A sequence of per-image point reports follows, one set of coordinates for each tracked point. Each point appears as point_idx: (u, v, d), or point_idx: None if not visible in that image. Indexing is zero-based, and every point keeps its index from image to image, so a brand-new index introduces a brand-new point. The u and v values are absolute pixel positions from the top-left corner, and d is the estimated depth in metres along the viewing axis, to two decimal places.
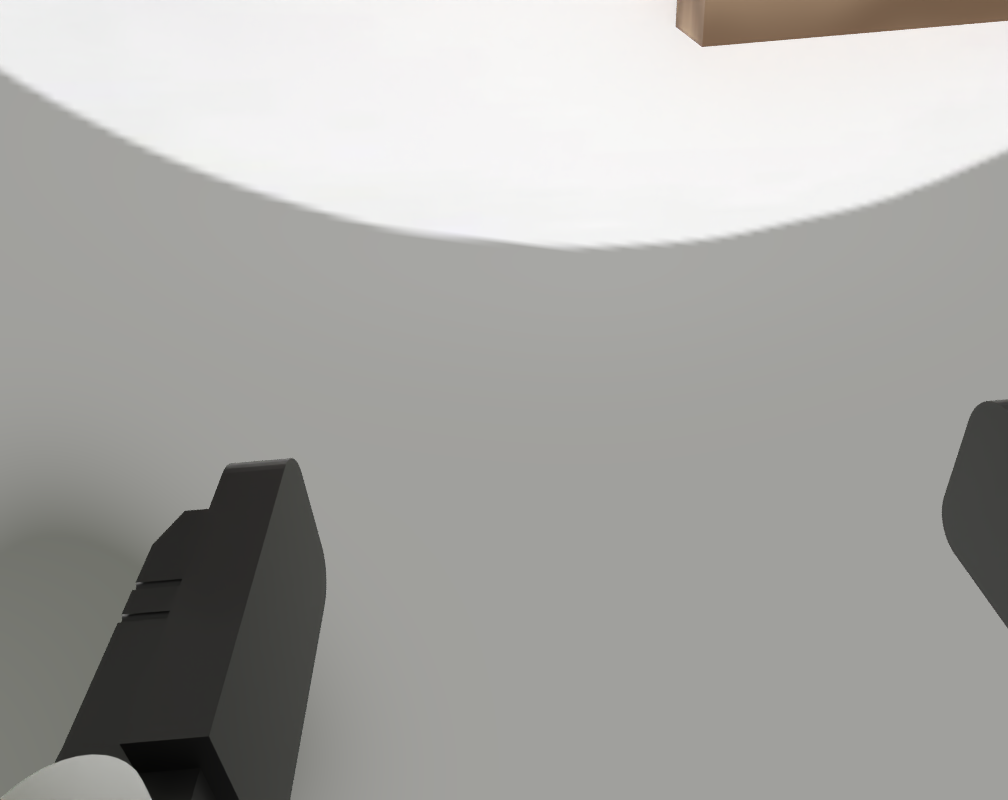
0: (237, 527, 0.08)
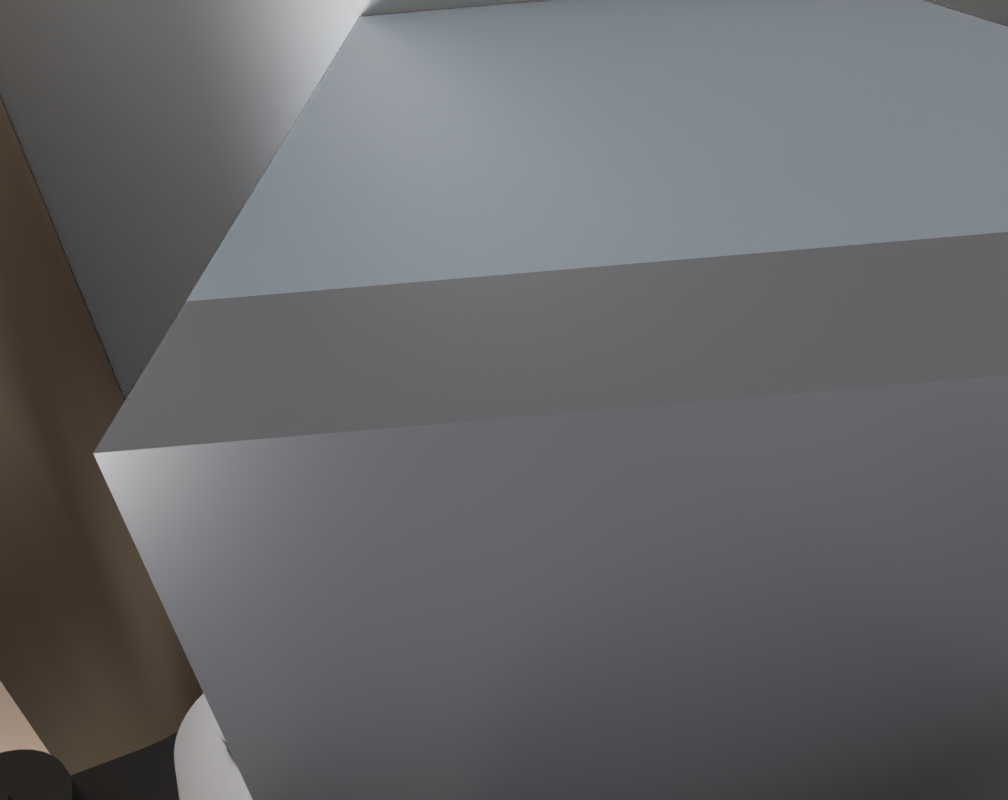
0: None
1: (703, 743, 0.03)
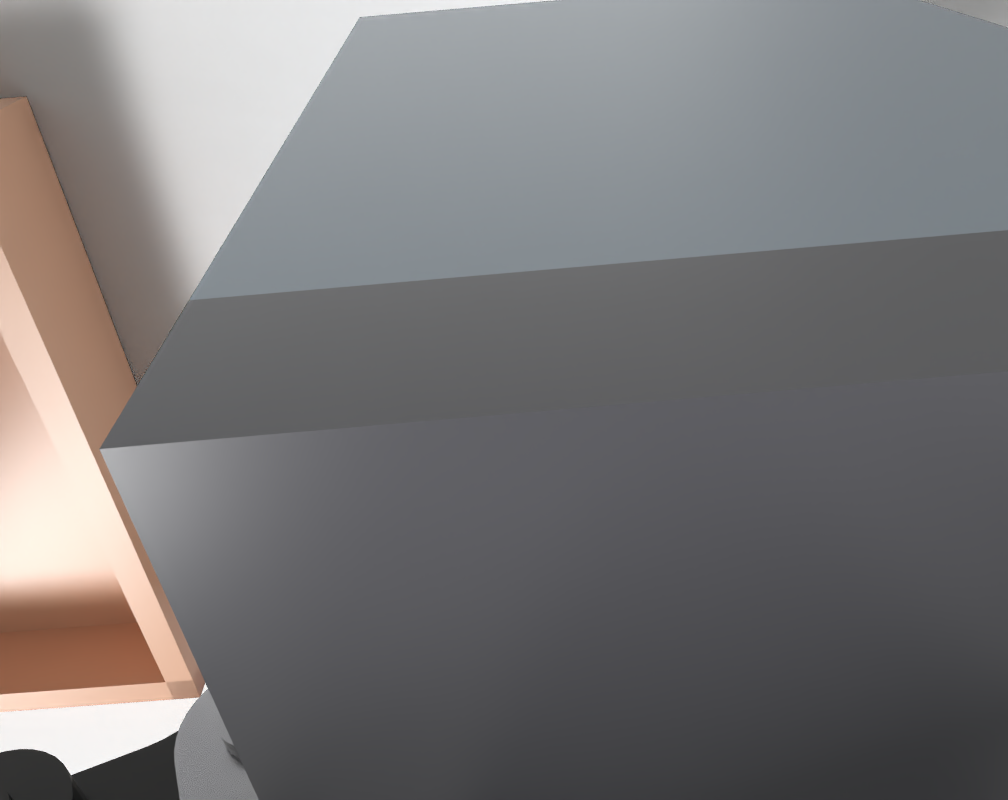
0: None
1: (701, 736, 0.03)
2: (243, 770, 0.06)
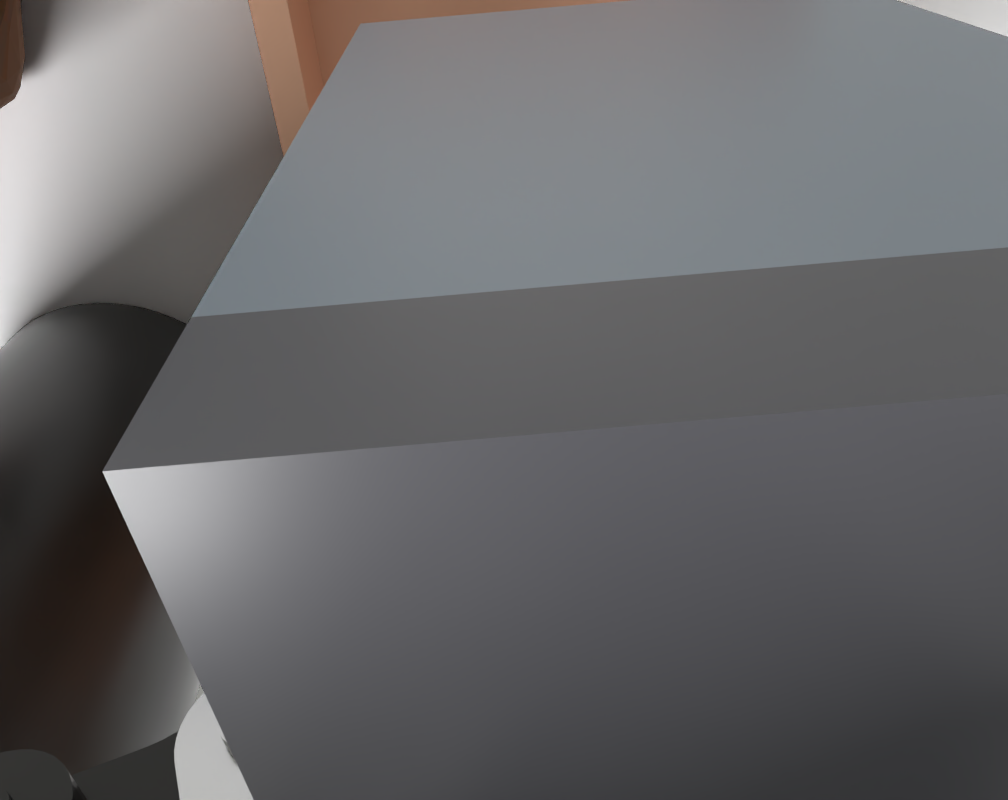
0: None
1: (702, 752, 0.04)
2: None
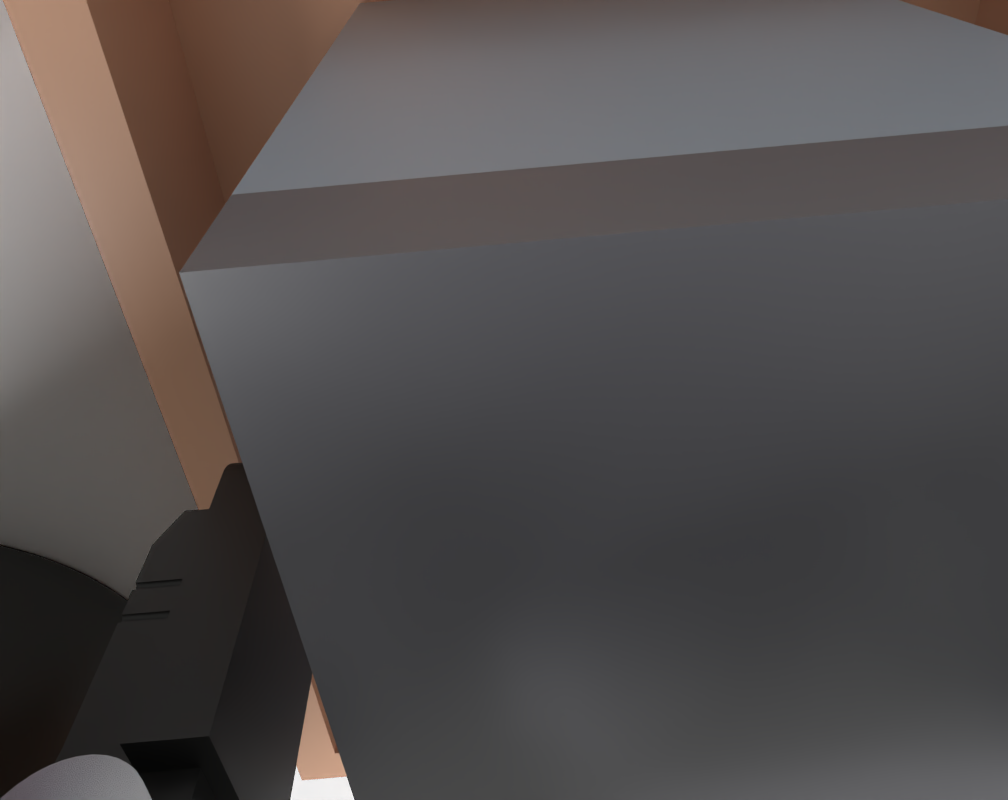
0: (237, 527, 0.08)
1: (619, 530, 0.05)
2: None
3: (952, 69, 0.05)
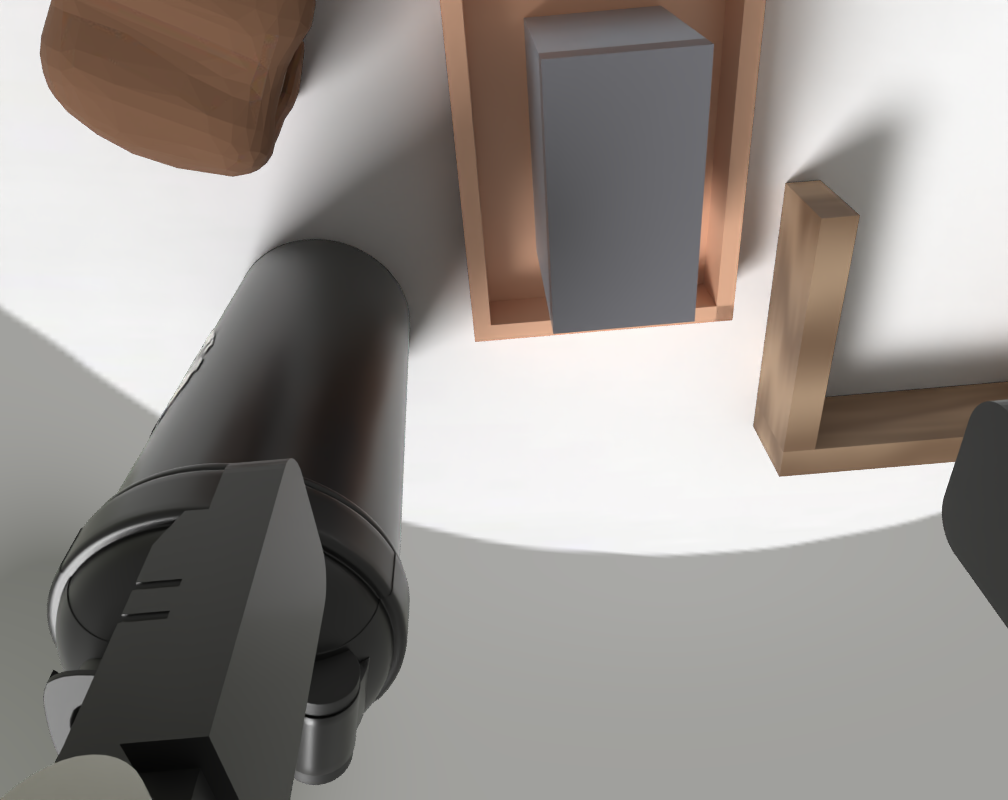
0: (237, 527, 0.08)
1: (604, 112, 0.26)
2: None
3: (670, 33, 0.27)
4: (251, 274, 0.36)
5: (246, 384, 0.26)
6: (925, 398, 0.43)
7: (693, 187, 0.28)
